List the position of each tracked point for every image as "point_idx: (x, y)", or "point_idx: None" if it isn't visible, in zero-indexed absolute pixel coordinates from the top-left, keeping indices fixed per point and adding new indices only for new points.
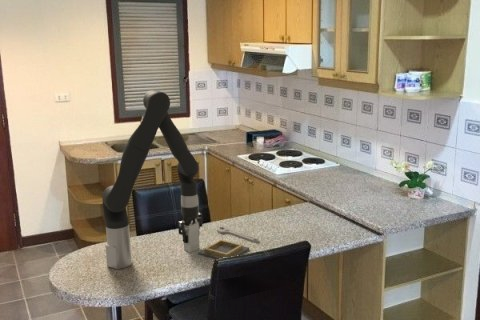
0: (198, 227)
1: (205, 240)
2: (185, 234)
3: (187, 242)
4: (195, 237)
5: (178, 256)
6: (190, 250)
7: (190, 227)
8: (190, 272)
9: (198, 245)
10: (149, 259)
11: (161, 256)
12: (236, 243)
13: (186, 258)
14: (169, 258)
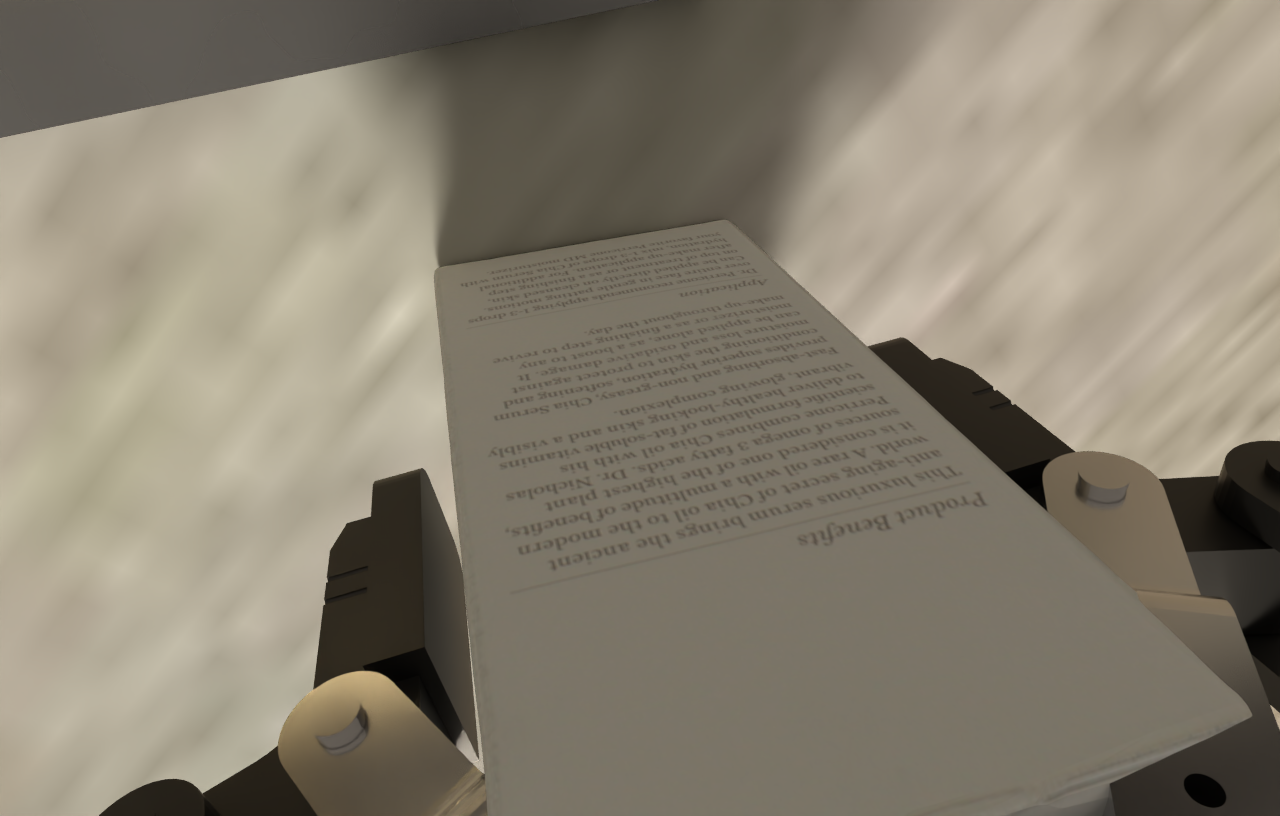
0: (492, 685)
1: (62, 528)
2: (1144, 479)
3: (887, 342)
4: (623, 399)
5: (990, 223)
6: (741, 231)
7: (1119, 684)
8: None
9: (478, 288)
10: (1237, 422)
11: (1098, 407)
12: None
13: (1000, 12)
14: (1119, 262)
